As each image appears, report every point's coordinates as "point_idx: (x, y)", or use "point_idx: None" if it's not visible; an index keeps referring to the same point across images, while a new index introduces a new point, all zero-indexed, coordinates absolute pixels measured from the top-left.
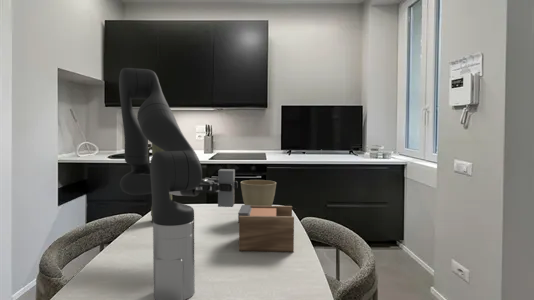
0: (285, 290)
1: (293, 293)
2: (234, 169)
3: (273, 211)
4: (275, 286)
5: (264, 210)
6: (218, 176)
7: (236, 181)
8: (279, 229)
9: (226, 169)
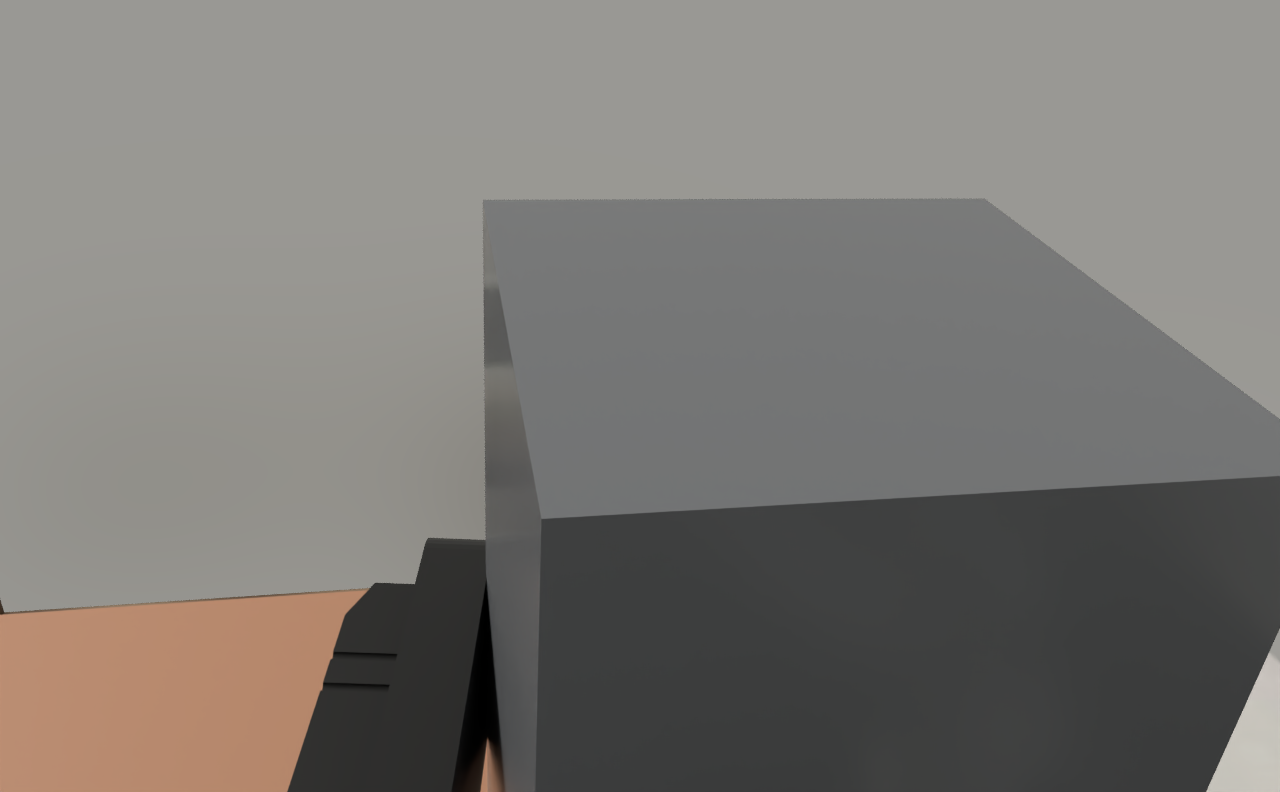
0: (1261, 711)
1: (1263, 672)
2: (530, 203)
3: (132, 632)
4: (1253, 768)
5: (32, 739)
6: (1241, 695)
7: (445, 543)
8: None
9: (640, 332)
